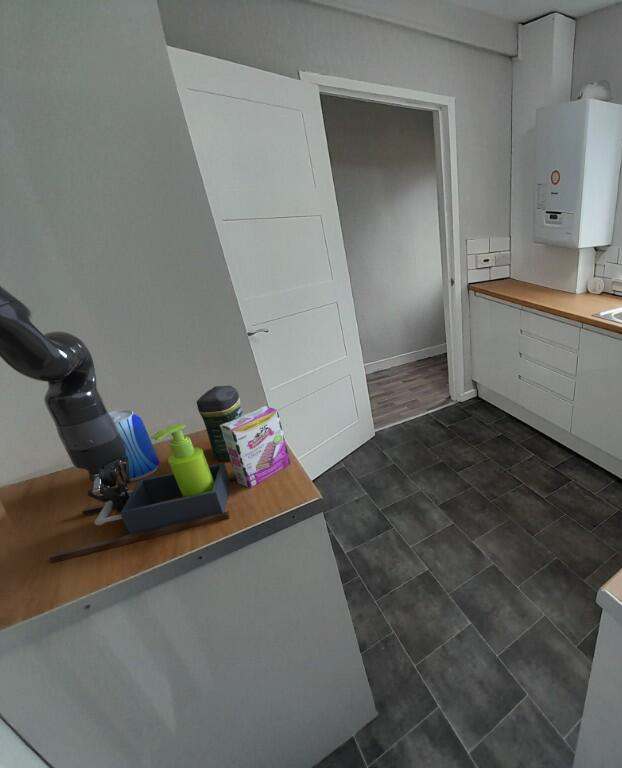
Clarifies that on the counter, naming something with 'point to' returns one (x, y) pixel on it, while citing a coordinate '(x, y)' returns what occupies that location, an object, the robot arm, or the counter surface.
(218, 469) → the tray
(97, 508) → the rails
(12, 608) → the counter surface
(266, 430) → the candy bar box
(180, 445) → the soap dispenser
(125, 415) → the beer can
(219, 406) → the coffee jar
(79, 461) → the robot arm
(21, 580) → the counter surface
